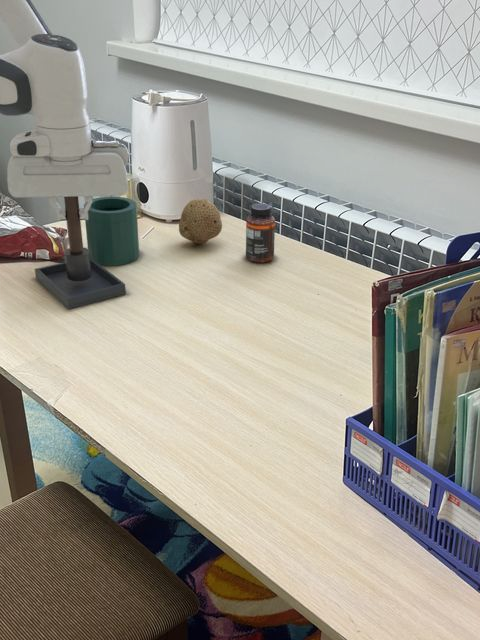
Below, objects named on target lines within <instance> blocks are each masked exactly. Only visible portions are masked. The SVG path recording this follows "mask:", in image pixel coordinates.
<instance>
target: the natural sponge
mask: <svg viewBox="0 0 480 640" xmlns="http://www.w3.org/2000/svg"><path fill="white" fill-rule="evenodd" d="M222 230H223V222H222V219H221V214H220V211H219V209H218V208H217V206H216V205H215V204H214V203H212V201H210V200H208V199H207V198H194V199H191V200H190V201H189V202H187V203H186V204H185V206H184V208H183V210H182V212H181V215H180V219H179V224H178V232H179V234H180V236H181V237H182V238H184V239H186V240H188V241H190V242H192V243H194V244H198V245H203V244H206V243H207V242H208V241H209V240H211V239H215V238H216V237H217V236H219V235H220V233H221V231H222Z"/></svg>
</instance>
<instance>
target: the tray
mask: <svg viewBox="0 0 480 640" xmlns="http://www.w3.org/2000/svg"><path fill="white" fill-rule="evenodd" d="M90 266H91V278H89V279H88V280H85V281H71V280H69V279H68V278H67V271H66V262H65V261H64V262H60V263H54V264H50V265H46V266H41V267H37V268H34V273H35V274H34V275H35V280H37V281H38V282H39V283H40V284H41V285H42V286H43V287H44V288H45V289H46V290H48V292H50V294H52V296H54V297H55V298H56V299H57V300H58V301H59V302H61V303H62V304H63V306H65V307H66V308H67V309H68V310H70V309H75V308H78V307H82V306H86V305H89V304H94V303H99V302H103V301H105V300H109V299H113V298H117V297H120V296H121V297H122V296H124V295H127V293H126V284H125V283H124V281H122V280H121V279H119V278H118V277H117V276H115V275H114V274H113V273H112V272H111V271H110V270H108V269H107V268H105V267H104V266H103V265H100V264H98V263H97V262H96V261H94V260H93V259H92V258H90Z"/></svg>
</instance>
